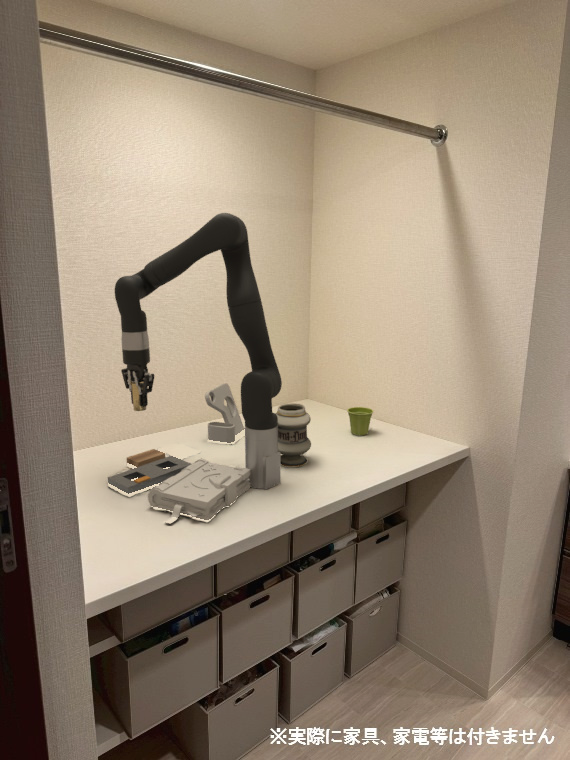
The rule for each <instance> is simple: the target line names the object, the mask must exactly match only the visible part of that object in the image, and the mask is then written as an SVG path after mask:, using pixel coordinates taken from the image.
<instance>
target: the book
mask: <svg viewBox="0 0 570 760" xmlns="http://www.w3.org/2000/svg"><path fill="white" fill-rule="evenodd" d="M250 474H251V469H247V468H246V467H242V466H230V465H226V464H220V463H215V462H211V461H210V462H209V461H208V460H207V459H205V458H199V459H197V460H195V461H194V463H191V465H189V466H188V467H186V468H184V469H183V470H181V472H180V473H178V474H177V475H175V476H172V477H170V478H168V479H167V480H165V481H163V482H162V483H160V484H159V486H155V487H153V488H152V489H150V490H148V491H149V492H148V494H147V500H148V501H147V502H148V503H149V505H150V507H151V506H153V507H158V508H162V509H166V510H170V511H173V513H171V516H172V517H176V518H178V517H180V516H181V515H180V513H183V514H187V515H191V516H192V517H196V518H200V519H204V520H209V519H211V518H212V517H213V516H214V515H216V514H217V512H218V511H219V510H221V509H222V508H223V507H225V506H229V505H230V504H231V503H233V502H234V501H235V500H236V501H237V498H238V497H237V496H239V495H240V494H241V493H243V494H245V493H246V492H247V491H248V490H249V488H250V487H251V485H250V483H249V482H246V481H247V480H249V478H248V477H249V476H250ZM251 488H252V487H251ZM251 488H250V489H251ZM246 490H247V491H246ZM245 491H246V492H245ZM244 492H245V493H244ZM241 495H242V494H241ZM241 495H240V496H241ZM240 496H239V497H240ZM236 497H237V498H236ZM234 503H235V502H234ZM234 503H233V504H234ZM225 508H226V507H225ZM217 515H218V514H217ZM178 519H179V518H178Z"/></svg>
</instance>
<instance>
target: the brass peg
mask: <svg viewBox="0 0 570 760" xmlns="http://www.w3.org/2000/svg"><path fill="white" fill-rule="evenodd" d="M139 383H144V382H139ZM142 389H143V386H142ZM132 393H133V404H132V405H133V406H132V407H133V411H134V412H143V411H146V410H147V406H145V407H141V406H140V402H139V390H138V387H137V386H136V383H135V382H133V383H132Z"/></svg>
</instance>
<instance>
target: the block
mask: <svg viewBox="0 0 570 760" xmlns="http://www.w3.org/2000/svg"><path fill="white" fill-rule="evenodd" d="M163 458H166V454H165V453H163V452H160V451H158V449H155V448H152V449H149V450H146V451H142V452H141V453H136V454H133V455H130V456H127V457H126V464H127V463H129V464H132V465H134V466H136V467H140V466H142V465H145V464H148V463H151V462H154V461H157V460H160V459H163Z"/></svg>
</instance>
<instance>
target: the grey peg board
mask: <svg viewBox="0 0 570 760" xmlns="http://www.w3.org/2000/svg"><path fill="white" fill-rule="evenodd" d="M191 464H192V463H191V462H188V461H185V460H184V459H183V460H181V459H178V458H176V457H173V456H170V455H168V456H167V457H166V456H165V458H163V459H160V460H157V461H154V462H151V463H148V464H145V465H142V466H140V467H137V468H134V469H131V468H130V469H129V470H125V471H123V472H120V473H116V474H114V475H110V476H107V484H108V483H109V484H111V485H113V486H115V487H117V488H118V489H120V490H122V491H124V492H126V493H128V494H129V493H132V492H135V491H138V490H141V489H144V488H146V487H149V486H152V485H154V484H158V483H161V482H163V481H165V480H167V479H168V478H170V477H172V476H175V475H177V474H178V473H180V472H181V470H183V469H184V468H186V467H188V466H189V465H191ZM166 467H170V468H168V469H163V468H166ZM137 477H138V479H136V480H134V481H131V479H134V478H137Z"/></svg>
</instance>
